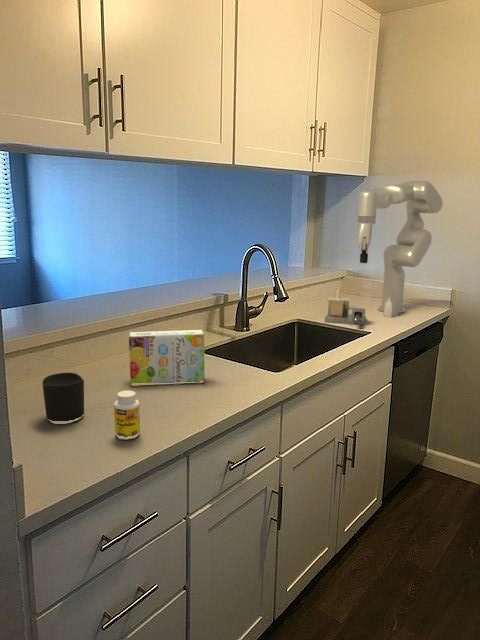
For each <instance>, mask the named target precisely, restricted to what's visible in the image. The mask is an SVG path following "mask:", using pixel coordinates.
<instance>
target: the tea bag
mask: <svg viewBox="0 0 480 640" xmlns="http://www.w3.org/2000/svg"><path fill="white" fill-rule="evenodd" d="M398 312H399V301H398V298H397V294H393V295H390V296H389V297H388V299H387V301H386V303H385V308H384V312H383V317H384V318H390V319H392V318H395V317H398V316H399V313H398Z"/></svg>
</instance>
